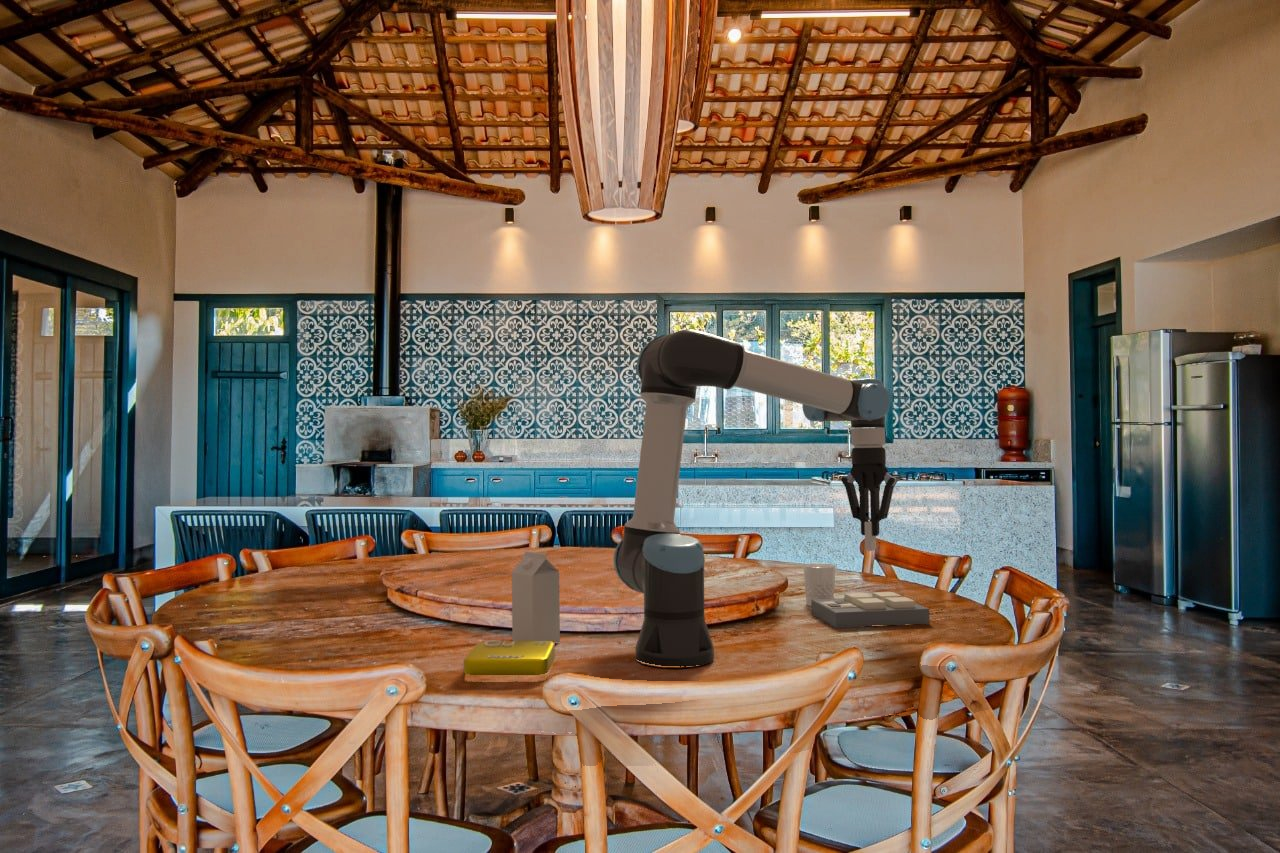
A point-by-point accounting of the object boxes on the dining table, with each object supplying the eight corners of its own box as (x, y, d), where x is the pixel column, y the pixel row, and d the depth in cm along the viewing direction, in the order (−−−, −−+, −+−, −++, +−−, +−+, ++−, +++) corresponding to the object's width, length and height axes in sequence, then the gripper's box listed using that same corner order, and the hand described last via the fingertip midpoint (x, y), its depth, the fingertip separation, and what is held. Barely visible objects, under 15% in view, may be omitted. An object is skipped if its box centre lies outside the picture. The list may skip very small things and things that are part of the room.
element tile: (461, 685, 156) (461, 657, 156) (478, 663, 171) (478, 638, 171) (546, 684, 156) (546, 657, 156) (556, 662, 171) (555, 637, 171)
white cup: (838, 607, 220) (838, 567, 220) (806, 608, 220) (806, 567, 220) (832, 601, 228) (831, 562, 228) (801, 602, 228) (801, 563, 228)
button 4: (893, 612, 200) (893, 601, 200) (884, 608, 205) (884, 597, 205) (914, 611, 201) (914, 600, 201) (905, 607, 206) (904, 596, 206)
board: (835, 628, 196) (835, 610, 196) (811, 614, 212) (811, 597, 212) (929, 624, 200) (929, 606, 200) (898, 610, 215) (898, 594, 215)
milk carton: (539, 638, 190) (538, 549, 190) (560, 643, 185) (559, 552, 185) (512, 644, 185) (511, 552, 185) (533, 649, 180) (532, 555, 180)
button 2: (864, 613, 199) (864, 602, 199) (855, 609, 204) (855, 598, 204) (885, 612, 200) (885, 602, 200) (876, 608, 205) (876, 598, 205)
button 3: (881, 606, 207) (881, 596, 207) (872, 602, 212) (872, 592, 212) (901, 605, 208) (901, 595, 208) (892, 601, 213) (892, 591, 213)
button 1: (852, 607, 206) (852, 597, 206) (844, 603, 211) (844, 593, 211) (872, 606, 207) (872, 596, 207) (864, 602, 212) (864, 592, 212)
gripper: (902, 446, 202) (904, 549, 202) (848, 446, 210) (850, 546, 209) (889, 446, 196) (892, 553, 196) (834, 447, 204) (837, 550, 203)
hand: (870, 549), depth 203 cm, fingers closed
